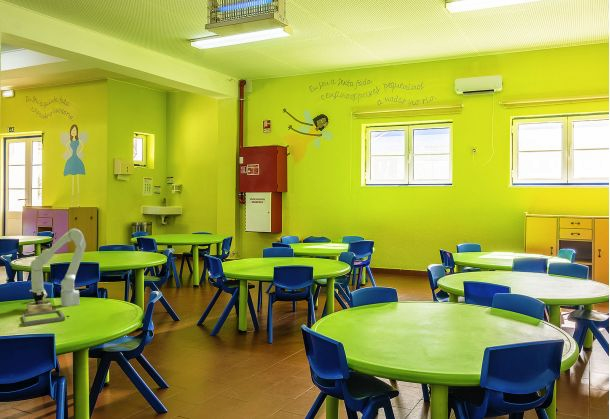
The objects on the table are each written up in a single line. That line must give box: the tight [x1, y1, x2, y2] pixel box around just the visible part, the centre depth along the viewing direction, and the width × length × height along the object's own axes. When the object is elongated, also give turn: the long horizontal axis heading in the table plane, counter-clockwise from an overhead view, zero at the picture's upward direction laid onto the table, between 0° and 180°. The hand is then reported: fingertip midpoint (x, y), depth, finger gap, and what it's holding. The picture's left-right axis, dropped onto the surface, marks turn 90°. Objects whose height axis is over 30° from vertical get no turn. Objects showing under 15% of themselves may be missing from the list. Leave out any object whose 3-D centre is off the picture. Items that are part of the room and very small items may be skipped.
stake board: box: [22, 300, 57, 315], centre depth 280 cm, size 15×16×7 cm
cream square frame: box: [26, 299, 53, 314], centre depth 281 cm, size 11×12×4 cm
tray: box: [21, 309, 66, 327], centre depth 265 cm, size 18×18×2 cm
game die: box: [33, 287, 50, 301], centre depth 308 cm, size 9×8×10 cm
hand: (38, 305), depth 285 cm, fingers closed on cream square frame, 3 cm apart
